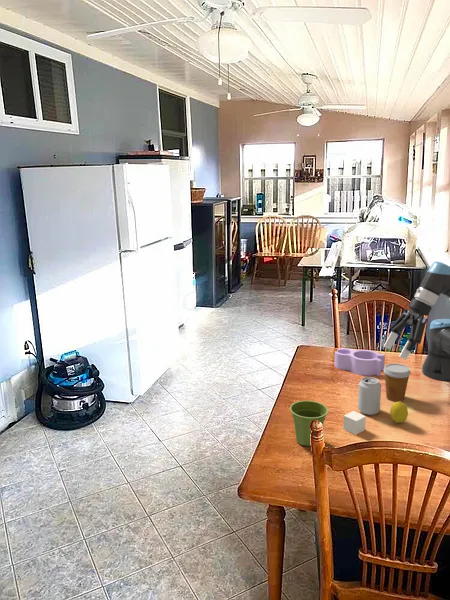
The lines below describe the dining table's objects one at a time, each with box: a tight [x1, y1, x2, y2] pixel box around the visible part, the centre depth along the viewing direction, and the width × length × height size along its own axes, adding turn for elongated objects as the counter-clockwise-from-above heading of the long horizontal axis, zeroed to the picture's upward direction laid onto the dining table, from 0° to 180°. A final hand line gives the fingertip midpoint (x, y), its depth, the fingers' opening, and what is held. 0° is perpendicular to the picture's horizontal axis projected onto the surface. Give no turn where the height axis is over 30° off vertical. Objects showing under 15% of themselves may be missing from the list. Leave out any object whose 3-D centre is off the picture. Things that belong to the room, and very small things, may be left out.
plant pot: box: [289, 400, 329, 447], centre depth 156 cm, size 12×12×11 cm
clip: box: [333, 347, 386, 377], centre depth 212 cm, size 20×12×7 cm, turn 60°
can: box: [357, 376, 382, 416], centre depth 174 cm, size 8×8×12 cm
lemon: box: [389, 401, 409, 424], centre depth 166 cm, size 6×6×8 cm
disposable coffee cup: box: [382, 362, 412, 402], centre depth 184 cm, size 10×10×12 cm
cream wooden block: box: [342, 410, 367, 436], centre depth 163 cm, size 5×5×5 cm
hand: (394, 352), depth 184 cm, fingers open, 13 cm apart
